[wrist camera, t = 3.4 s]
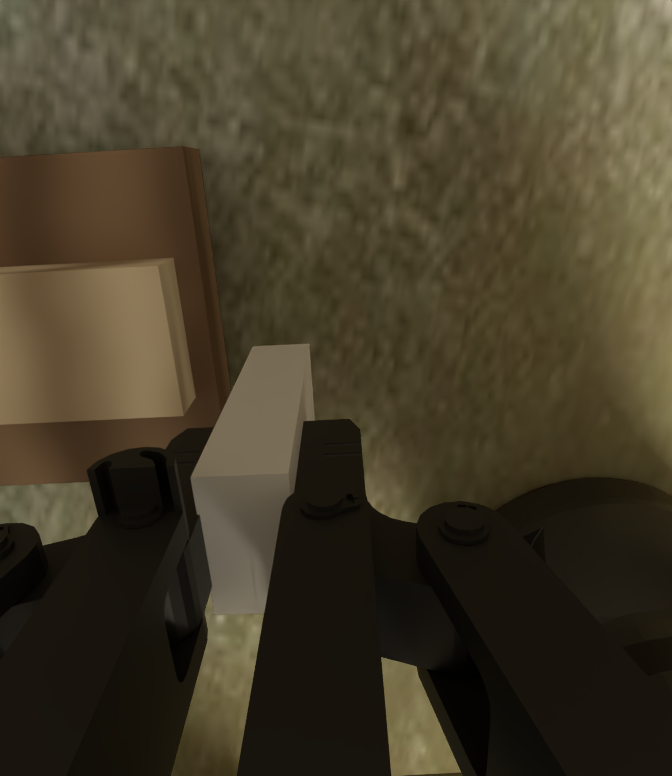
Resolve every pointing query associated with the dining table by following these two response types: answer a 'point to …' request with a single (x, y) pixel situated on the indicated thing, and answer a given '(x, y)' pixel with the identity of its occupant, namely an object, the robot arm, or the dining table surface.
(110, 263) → the birch tile
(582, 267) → the dining table surface
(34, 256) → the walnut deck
